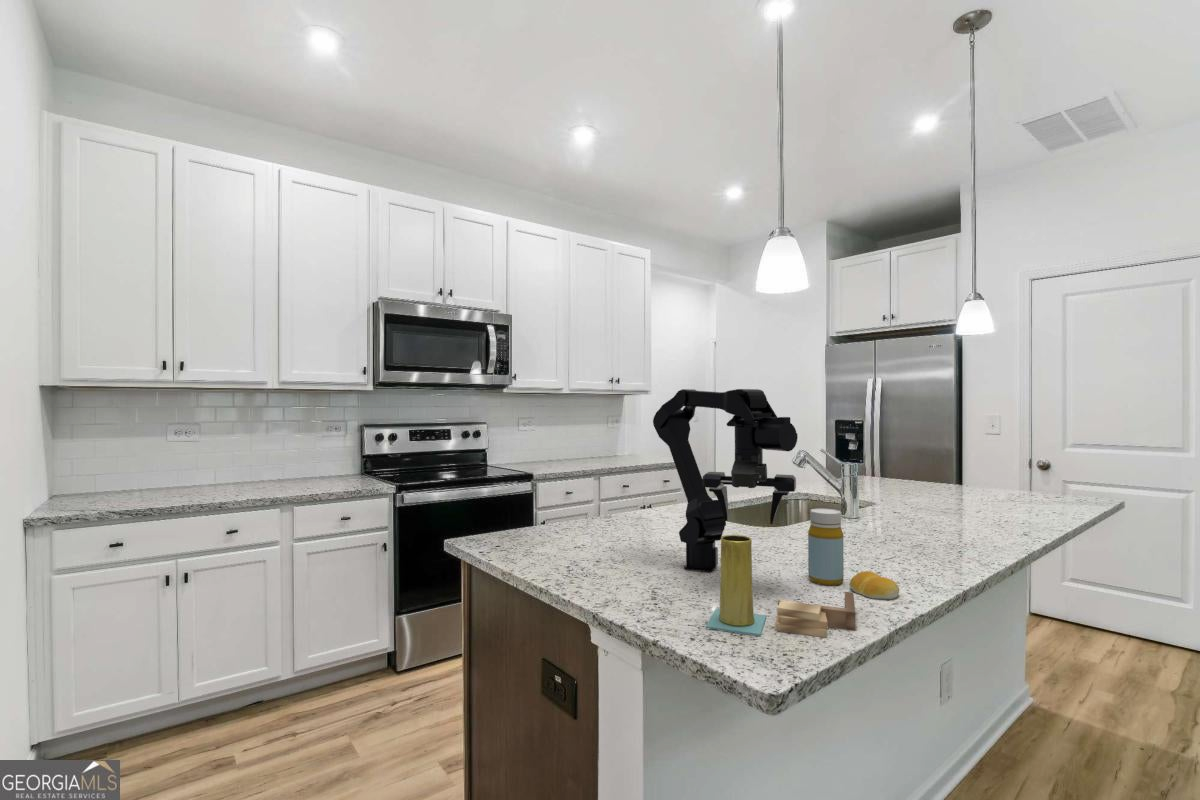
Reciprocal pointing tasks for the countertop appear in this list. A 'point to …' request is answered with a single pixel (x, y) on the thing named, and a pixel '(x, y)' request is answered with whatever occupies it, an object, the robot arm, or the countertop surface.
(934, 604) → the countertop surface
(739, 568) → the vase
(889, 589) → the bread roll
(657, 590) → the countertop surface
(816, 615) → the offcut rack
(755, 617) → the mat
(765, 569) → the countertop surface
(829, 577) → the bottle
